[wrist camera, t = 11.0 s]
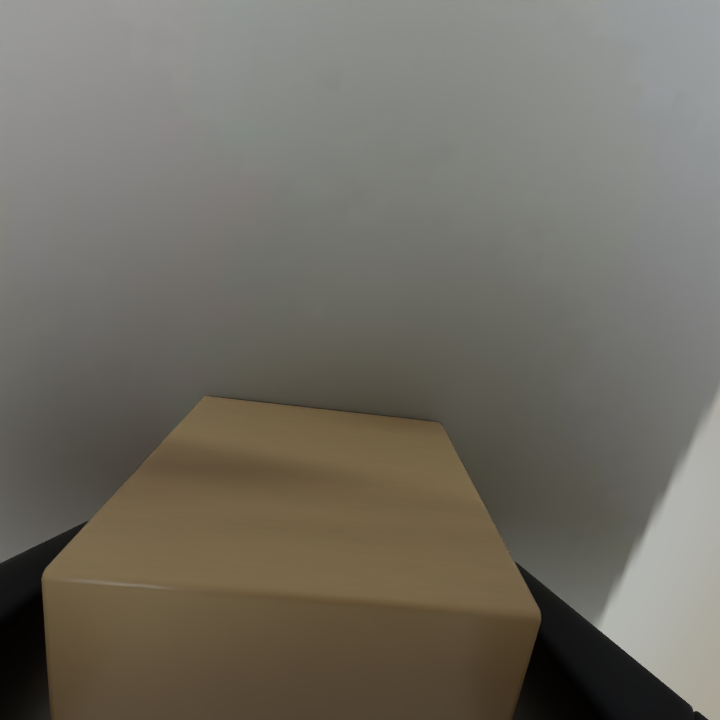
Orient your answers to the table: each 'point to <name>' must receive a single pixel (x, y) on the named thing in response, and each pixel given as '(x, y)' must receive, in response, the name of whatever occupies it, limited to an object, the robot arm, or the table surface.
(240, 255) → the table surface
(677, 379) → the table surface
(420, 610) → the block
